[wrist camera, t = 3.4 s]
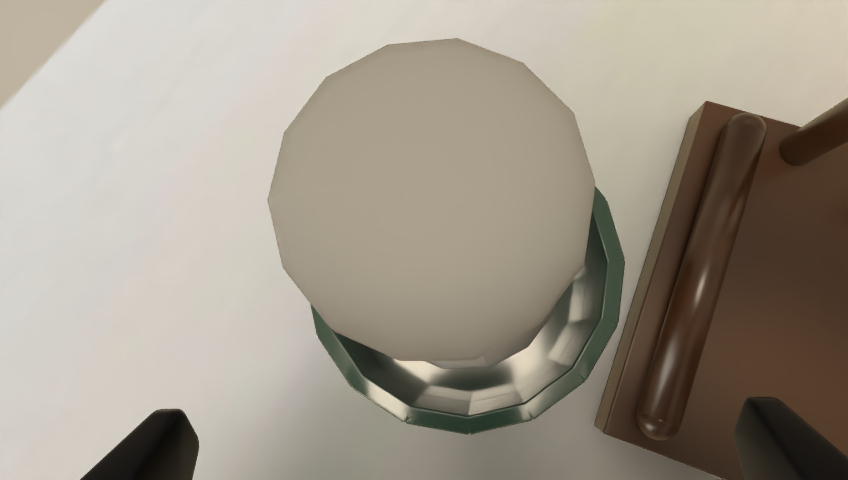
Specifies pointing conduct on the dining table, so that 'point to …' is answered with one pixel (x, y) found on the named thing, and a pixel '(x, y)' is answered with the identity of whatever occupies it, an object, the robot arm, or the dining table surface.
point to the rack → (739, 290)
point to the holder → (511, 378)
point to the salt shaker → (434, 203)
